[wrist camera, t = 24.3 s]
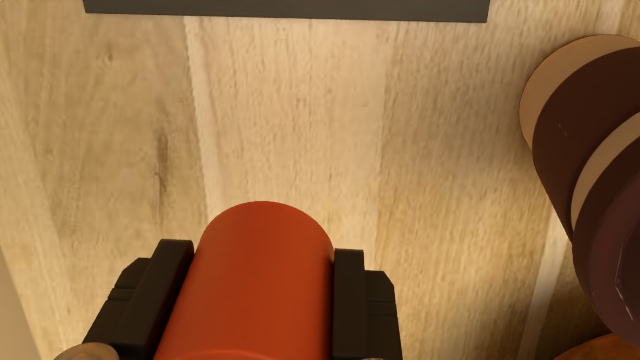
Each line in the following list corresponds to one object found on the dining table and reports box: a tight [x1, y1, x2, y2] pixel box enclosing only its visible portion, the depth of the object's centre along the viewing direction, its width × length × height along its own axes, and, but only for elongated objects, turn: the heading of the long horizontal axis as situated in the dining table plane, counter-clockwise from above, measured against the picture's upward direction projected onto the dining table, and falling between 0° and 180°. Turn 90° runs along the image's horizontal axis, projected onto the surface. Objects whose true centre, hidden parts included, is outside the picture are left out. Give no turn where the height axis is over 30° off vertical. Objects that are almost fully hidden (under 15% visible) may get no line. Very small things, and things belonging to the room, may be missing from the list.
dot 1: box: [153, 201, 334, 360], centre depth 12 cm, size 4×4×5 cm
